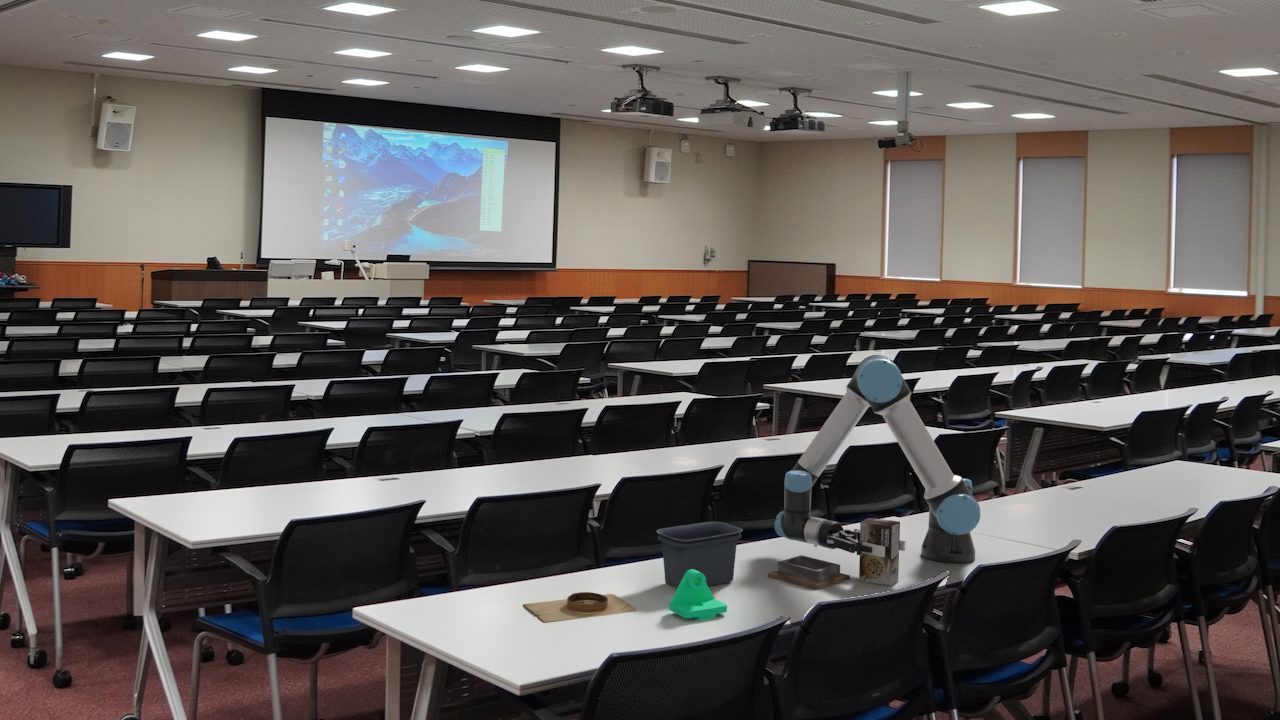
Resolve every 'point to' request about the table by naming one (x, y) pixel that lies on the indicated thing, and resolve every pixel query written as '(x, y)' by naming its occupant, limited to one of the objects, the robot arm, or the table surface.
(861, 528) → the coffee box
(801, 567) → the socket
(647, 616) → the table surface
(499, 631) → the table surface
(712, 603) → the camera mount
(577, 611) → the board
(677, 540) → the storage bin
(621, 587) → the table surface
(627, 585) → the table surface
